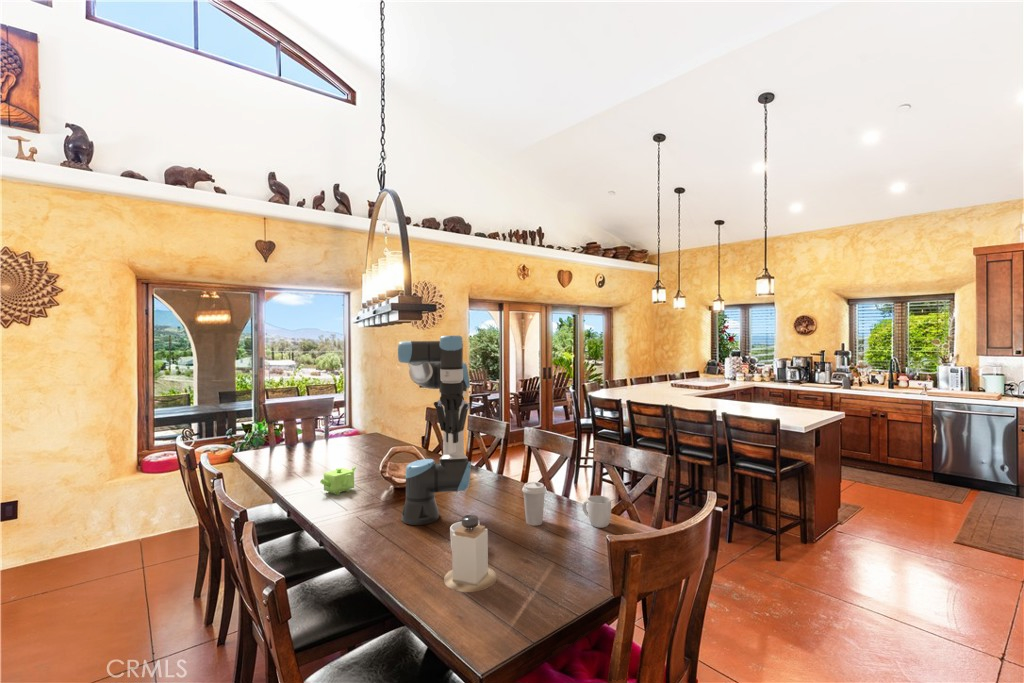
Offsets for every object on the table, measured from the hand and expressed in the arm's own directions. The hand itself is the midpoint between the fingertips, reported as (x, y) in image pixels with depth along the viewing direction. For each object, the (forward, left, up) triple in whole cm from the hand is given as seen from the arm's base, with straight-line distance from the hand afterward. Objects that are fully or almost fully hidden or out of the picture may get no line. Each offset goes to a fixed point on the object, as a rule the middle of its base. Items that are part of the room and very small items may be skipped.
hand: (452, 452), depth 156 cm
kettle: (-85, +40, -36) cm, 101 cm away
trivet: (+12, -10, -36) cm, 39 cm away
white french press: (+12, -10, -35) cm, 38 cm away
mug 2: (+38, +47, -36) cm, 70 cm away
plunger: (+12, -10, -32) cm, 36 cm away
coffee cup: (+15, +39, -36) cm, 55 cm away
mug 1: (+1, +9, -36) cm, 37 cm away
